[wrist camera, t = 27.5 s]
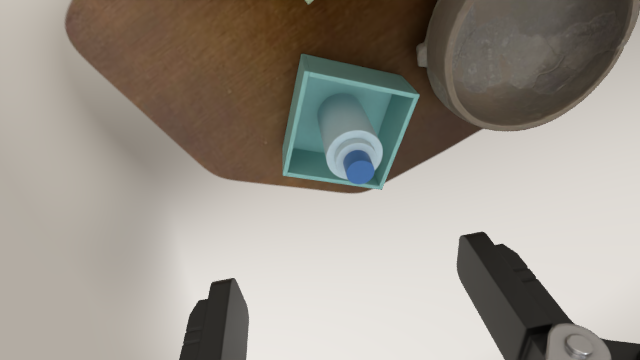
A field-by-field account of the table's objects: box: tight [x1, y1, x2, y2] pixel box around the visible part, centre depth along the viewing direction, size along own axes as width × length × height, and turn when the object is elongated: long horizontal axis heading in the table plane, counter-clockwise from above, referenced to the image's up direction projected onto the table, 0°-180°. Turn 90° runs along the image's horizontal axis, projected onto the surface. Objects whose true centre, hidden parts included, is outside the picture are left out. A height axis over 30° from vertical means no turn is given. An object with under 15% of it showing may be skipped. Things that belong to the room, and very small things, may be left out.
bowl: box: [416, 0, 640, 131], centre depth 34 cm, size 17×18×10 cm
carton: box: [283, 54, 419, 190], centre depth 40 cm, size 12×12×6 cm
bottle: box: [318, 93, 383, 184], centre depth 37 cm, size 6×6×13 cm
